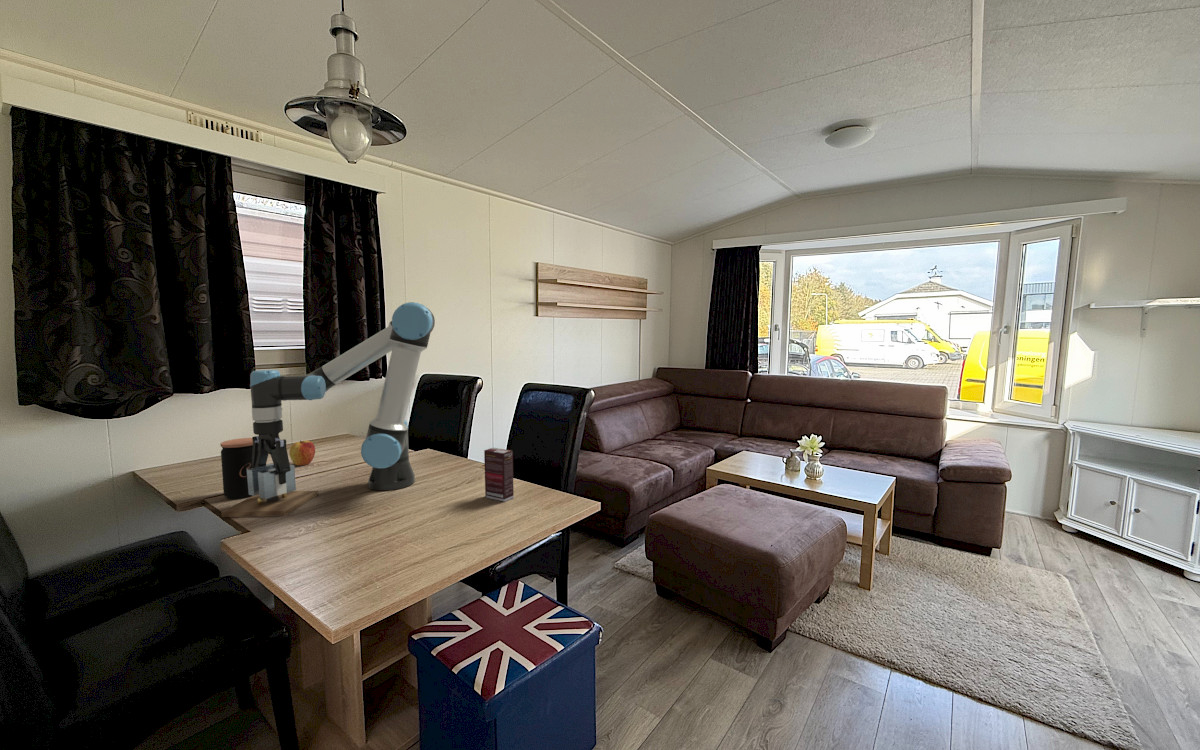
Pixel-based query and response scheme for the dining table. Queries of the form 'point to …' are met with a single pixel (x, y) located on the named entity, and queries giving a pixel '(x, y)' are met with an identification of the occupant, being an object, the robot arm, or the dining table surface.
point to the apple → (302, 452)
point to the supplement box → (498, 474)
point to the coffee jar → (236, 467)
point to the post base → (270, 505)
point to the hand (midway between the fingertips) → (272, 491)
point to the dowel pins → (260, 500)
